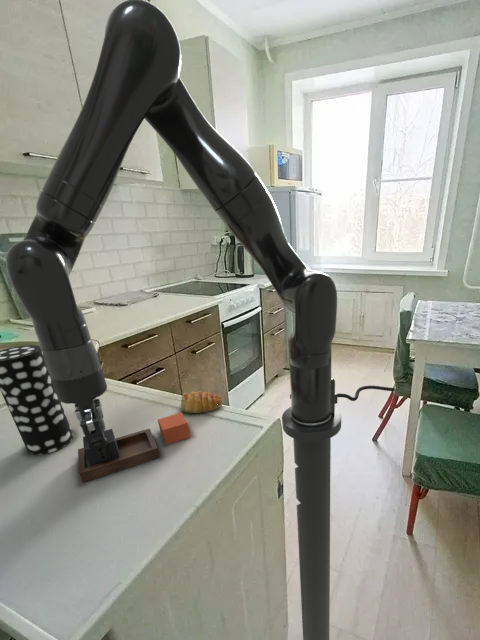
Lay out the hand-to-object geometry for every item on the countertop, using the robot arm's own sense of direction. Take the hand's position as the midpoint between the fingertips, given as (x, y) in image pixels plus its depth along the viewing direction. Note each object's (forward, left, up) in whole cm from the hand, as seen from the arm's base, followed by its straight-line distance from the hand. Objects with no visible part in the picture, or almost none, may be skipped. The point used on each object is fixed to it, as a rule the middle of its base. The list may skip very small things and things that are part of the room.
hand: (103, 452), depth 66 cm
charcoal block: (0, 0, 0) cm, 0 cm away
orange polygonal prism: (-13, -2, -2) cm, 14 cm away
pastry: (-21, -11, -3) cm, 24 cm away
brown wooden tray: (-2, 0, -2) cm, 3 cm away
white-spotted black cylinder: (+10, -14, -3) cm, 17 cm away
